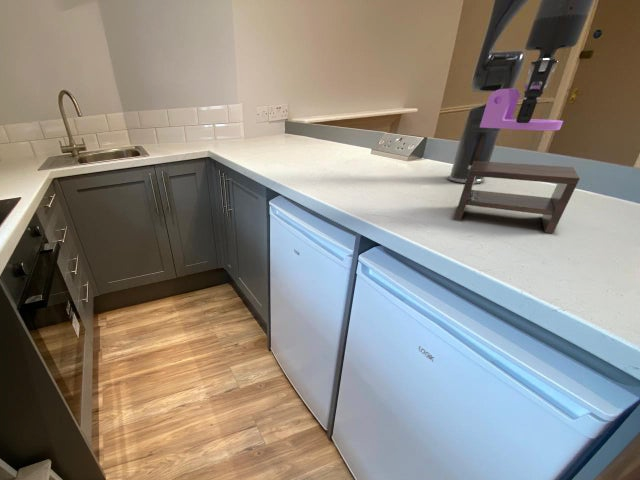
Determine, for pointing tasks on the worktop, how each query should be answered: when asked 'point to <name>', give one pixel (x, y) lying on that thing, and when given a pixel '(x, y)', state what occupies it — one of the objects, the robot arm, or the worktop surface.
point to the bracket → (511, 113)
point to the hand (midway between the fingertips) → (522, 121)
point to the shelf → (521, 203)
